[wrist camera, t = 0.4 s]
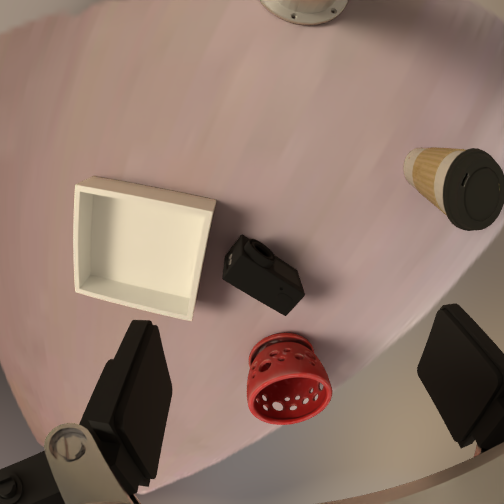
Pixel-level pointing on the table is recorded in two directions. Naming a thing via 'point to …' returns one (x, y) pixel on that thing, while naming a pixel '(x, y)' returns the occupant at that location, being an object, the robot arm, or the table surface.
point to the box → (140, 245)
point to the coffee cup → (458, 184)
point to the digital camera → (262, 275)
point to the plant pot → (286, 379)
